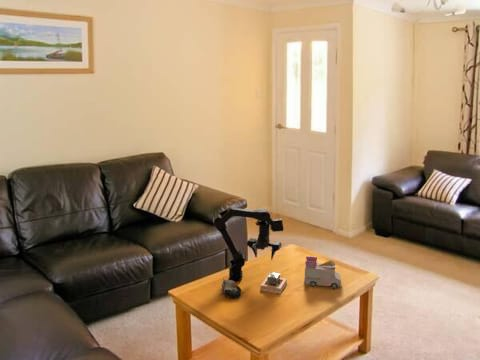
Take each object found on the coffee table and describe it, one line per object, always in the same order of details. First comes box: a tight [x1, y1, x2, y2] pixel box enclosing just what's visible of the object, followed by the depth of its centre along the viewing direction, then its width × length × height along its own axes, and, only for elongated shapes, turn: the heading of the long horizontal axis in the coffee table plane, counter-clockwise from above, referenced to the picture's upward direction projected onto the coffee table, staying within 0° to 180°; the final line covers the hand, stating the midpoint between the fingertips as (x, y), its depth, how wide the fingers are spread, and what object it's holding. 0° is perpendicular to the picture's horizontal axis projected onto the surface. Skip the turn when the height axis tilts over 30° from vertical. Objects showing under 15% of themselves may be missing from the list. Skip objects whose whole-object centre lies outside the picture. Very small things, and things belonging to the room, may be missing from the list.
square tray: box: [259, 275, 288, 294], centre depth 251 cm, size 11×12×3 cm
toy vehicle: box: [303, 256, 342, 290], centre depth 251 cm, size 9×20×15 cm, turn 78°
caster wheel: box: [221, 277, 242, 299], centre depth 243 cm, size 7×11×10 cm
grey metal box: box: [267, 271, 281, 287], centre depth 250 cm, size 5×6×6 cm
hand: (263, 258), depth 261 cm, fingers open, 9 cm apart
